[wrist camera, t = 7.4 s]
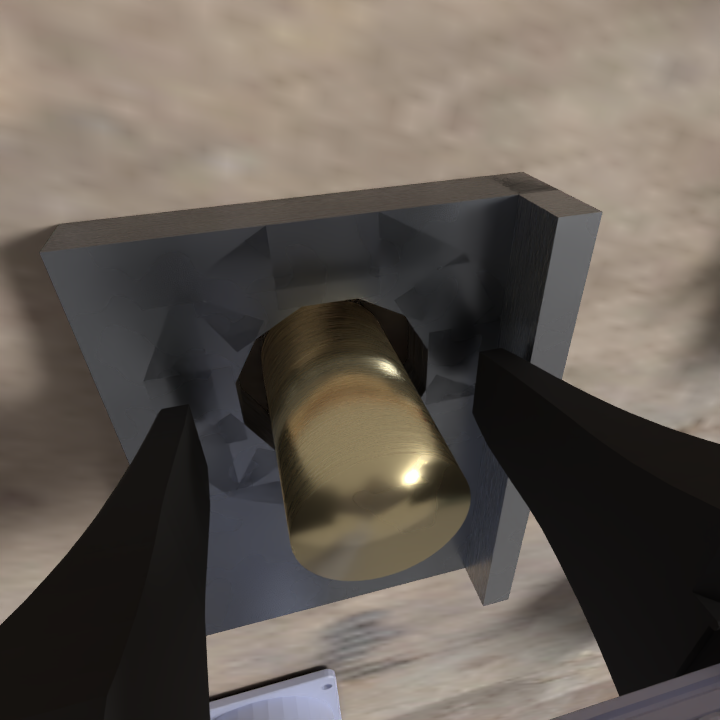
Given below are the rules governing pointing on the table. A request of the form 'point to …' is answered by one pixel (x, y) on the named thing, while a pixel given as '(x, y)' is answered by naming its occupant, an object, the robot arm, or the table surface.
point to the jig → (311, 287)
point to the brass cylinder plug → (356, 448)
